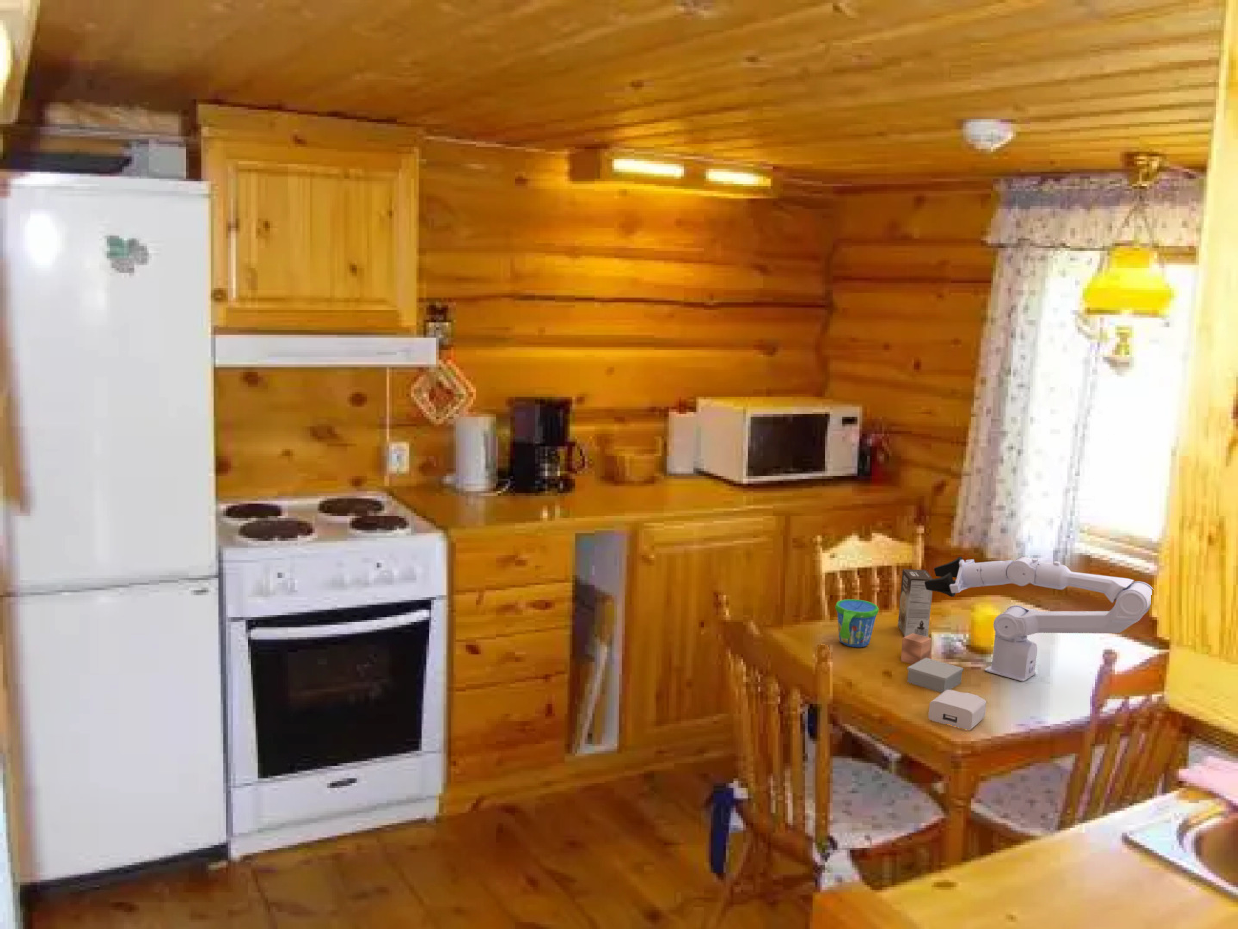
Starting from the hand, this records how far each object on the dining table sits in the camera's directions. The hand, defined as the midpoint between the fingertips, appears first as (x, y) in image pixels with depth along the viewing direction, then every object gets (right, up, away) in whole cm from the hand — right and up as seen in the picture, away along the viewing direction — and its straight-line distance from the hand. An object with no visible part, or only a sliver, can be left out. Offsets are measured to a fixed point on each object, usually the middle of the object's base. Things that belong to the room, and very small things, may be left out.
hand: (930, 578), depth 276 cm
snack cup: (-17, -18, +8) cm, 26 cm away
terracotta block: (-5, -20, -3) cm, 21 cm away
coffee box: (0, -16, +19) cm, 25 cm away
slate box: (-4, -23, -17) cm, 29 cm away
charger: (-3, -26, -35) cm, 44 cm away
